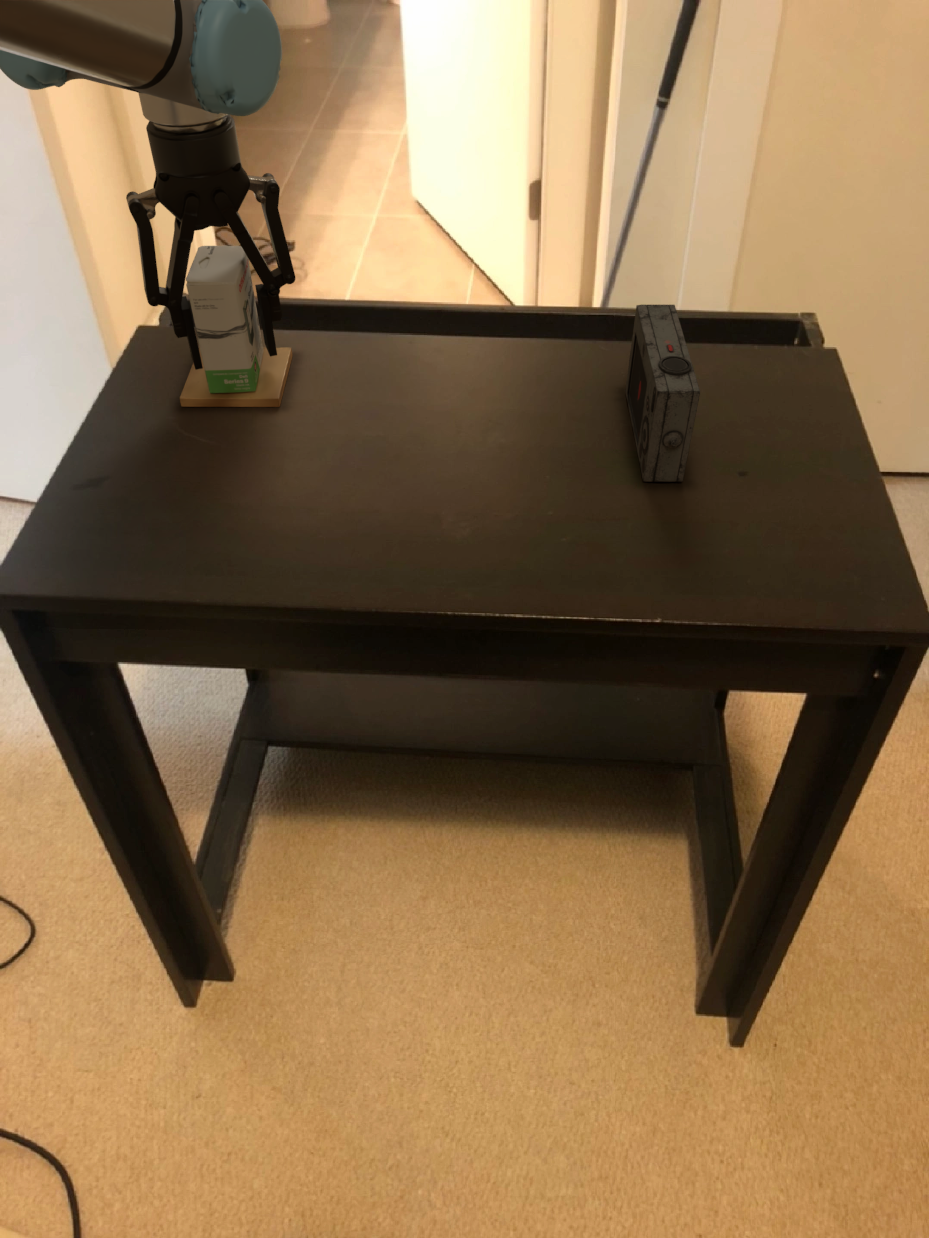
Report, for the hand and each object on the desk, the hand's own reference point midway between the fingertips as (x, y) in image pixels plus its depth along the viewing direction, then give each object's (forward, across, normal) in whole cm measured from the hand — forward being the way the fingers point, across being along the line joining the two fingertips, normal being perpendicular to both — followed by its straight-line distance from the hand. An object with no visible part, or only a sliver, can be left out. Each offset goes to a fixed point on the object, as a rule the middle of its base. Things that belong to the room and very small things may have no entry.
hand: (234, 355), depth 101 cm
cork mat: (+3, 0, 0) cm, 3 cm away
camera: (+3, -36, +24) cm, 43 cm away
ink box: (+2, 0, 0) cm, 2 cm away
